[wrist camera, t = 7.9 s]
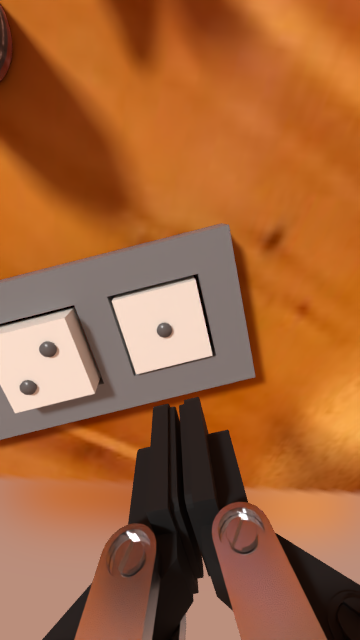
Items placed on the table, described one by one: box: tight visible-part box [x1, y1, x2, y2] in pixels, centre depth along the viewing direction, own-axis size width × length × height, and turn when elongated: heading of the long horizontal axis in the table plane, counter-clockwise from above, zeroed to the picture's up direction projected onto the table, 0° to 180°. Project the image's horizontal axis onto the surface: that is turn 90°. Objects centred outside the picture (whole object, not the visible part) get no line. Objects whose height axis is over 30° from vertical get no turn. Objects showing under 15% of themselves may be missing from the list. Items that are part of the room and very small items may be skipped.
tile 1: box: [112, 275, 213, 374], centre depth 23 cm, size 6×6×3 cm
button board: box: [0, 224, 255, 440], centre depth 23 cm, size 30×12×2 cm, turn 104°
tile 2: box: [0, 307, 101, 413], centre depth 22 cm, size 6×6×3 cm
